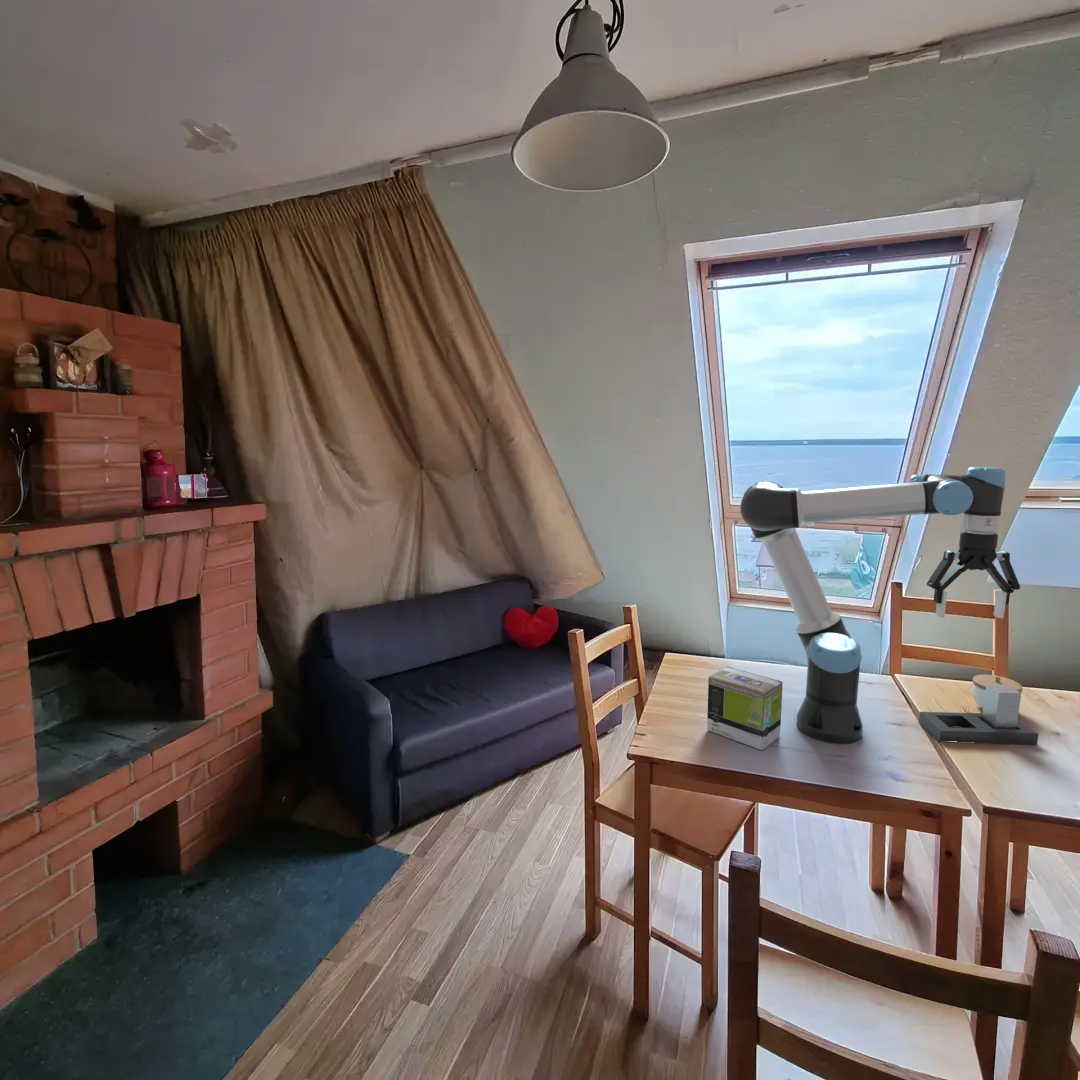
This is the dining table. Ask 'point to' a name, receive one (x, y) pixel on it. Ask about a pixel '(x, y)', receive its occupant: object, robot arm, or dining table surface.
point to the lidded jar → (982, 680)
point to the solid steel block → (1001, 706)
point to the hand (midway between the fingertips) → (969, 616)
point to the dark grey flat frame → (974, 729)
